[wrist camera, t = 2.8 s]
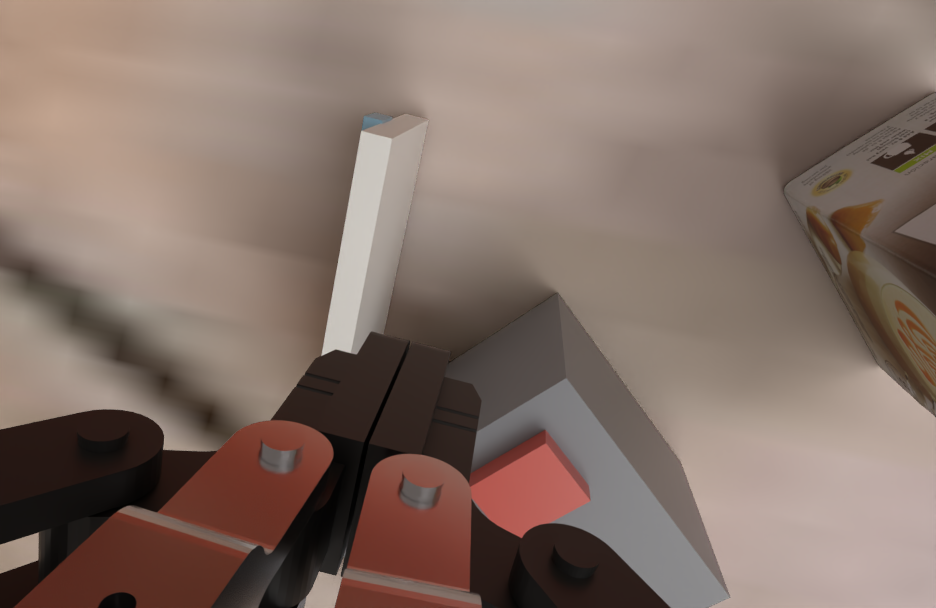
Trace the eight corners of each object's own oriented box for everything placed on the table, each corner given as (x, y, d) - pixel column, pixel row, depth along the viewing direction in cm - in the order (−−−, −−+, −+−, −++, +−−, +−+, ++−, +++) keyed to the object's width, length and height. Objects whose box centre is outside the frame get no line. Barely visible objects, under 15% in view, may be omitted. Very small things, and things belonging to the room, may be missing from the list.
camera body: (681, 462, 30) (737, 616, 22) (473, 573, 33) (452, 745, 25) (557, 292, 28) (567, 390, 19) (348, 428, 31) (279, 562, 22)
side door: (430, 117, 26) (393, 136, 19) (367, 415, 30) (319, 517, 23) (392, 107, 26) (341, 123, 19) (335, 406, 30) (277, 506, 23)
